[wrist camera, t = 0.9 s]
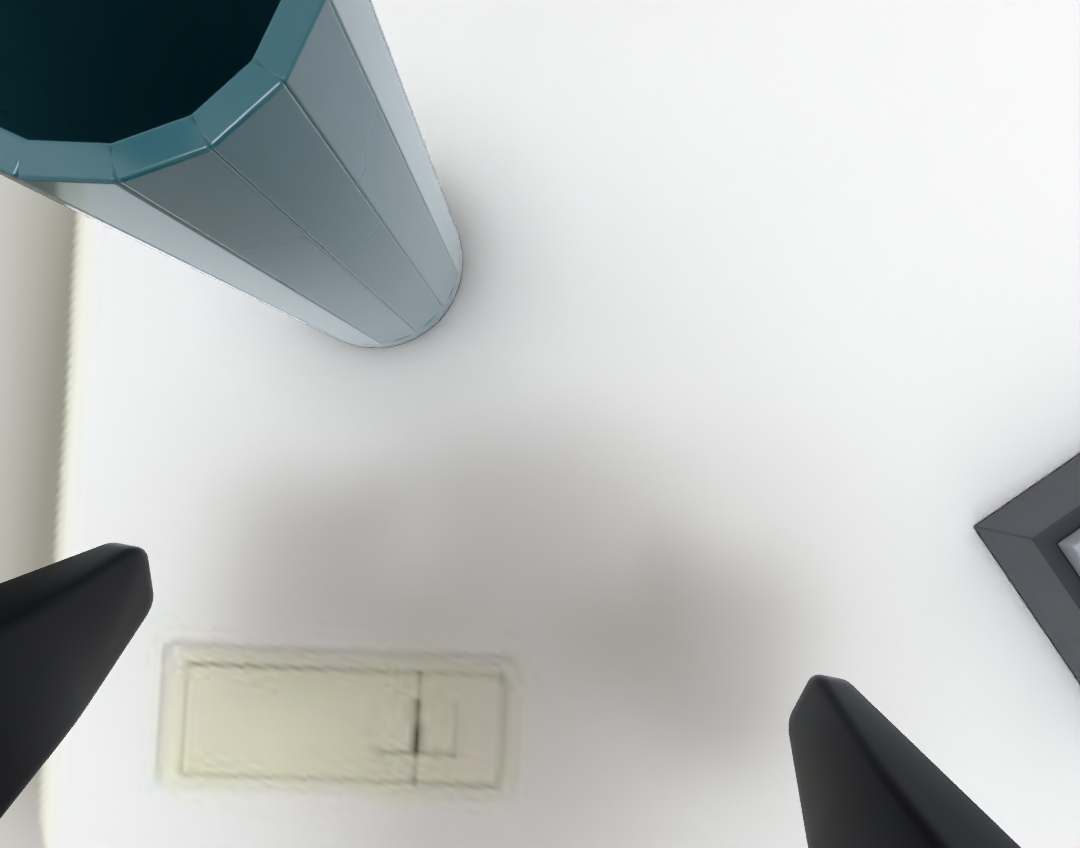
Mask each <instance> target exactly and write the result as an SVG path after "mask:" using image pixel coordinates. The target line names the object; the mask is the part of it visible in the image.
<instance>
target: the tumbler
mask: <svg viewBox="0 0 1080 848" xmlns="http://www.w3.org/2000/svg"><path fill="white" fill-rule="evenodd" d="M0 174H1V175H3V176H5V177H7V178H9V179H11V180H13V181H15V182H17V183H19V184H21V185H23V186H25V187H28V188H29V189H31V190H34V191H36V192H38V193H40V194H42V195H44V196H46V197H48V198H50V199H52V200H54V201H56V202H58V203H60V204H62V205H64V206H66V207H68V208H70V209H72V210H74V211H76V212H78V213H80V214H82V215H84V216H87V217H89V218H91V219H93V220H95V221H97V222H99V223H101V224H103V225H105V226H107V227H109V228H111V229H113V230H115V231H117V232H119V233H121V234H123V235H125V236H127V237H129V238H131V239H133V240H135V241H138V242H140V243H142V244H144V245H146V246H148V247H150V248H152V249H154V250H156V251H158V252H160V253H162V254H164V255H166V256H168V257H170V258H172V259H174V260H176V261H178V262H180V263H182V264H184V265H186V266H189V267H191V268H193V269H195V270H197V271H199V272H201V273H203V274H205V275H207V276H209V277H211V278H213V279H215V280H217V281H219V282H221V283H223V284H225V285H227V286H229V287H231V288H233V289H235V290H237V291H240V292H242V293H244V294H246V295H248V296H250V297H252V298H254V299H256V300H258V301H260V302H262V303H264V304H266V305H268V306H270V307H272V308H274V309H276V310H278V311H280V312H282V313H284V314H286V315H288V316H291V317H293V318H295V319H297V320H299V321H301V322H303V323H305V324H307V325H309V326H311V327H313V328H315V329H317V330H319V331H321V332H324V333H326V334H328V335H330V336H332V337H334V338H336V339H338V340H341V341H343V342H345V343H349V344H352V345H356V346H361V347H370V348H379V347H389V346H395V345H398V344H402V343H405V342H408V341H410V340H412V339H414V338H417V337H418V336H420V335H421V334H423V333H425V332H426V331H427V330H429V329H430V328H431V327H432V326H434V325H435V324H436V323H437V322H438V321H439V320H440V319H441V318H442V316H443V315H444V314H445V312H446V311H447V310H448V308H449V307H450V305H451V303H452V301H453V299H454V298H455V295H456V293H457V290H458V287H459V283H460V279H461V274H462V249H461V243H460V238H459V235H458V233H457V230H456V227H455V224H454V222H453V219H452V216H451V214H450V211H449V208H448V206H447V203H446V200H445V197H444V195H443V192H442V189H441V187H440V184H439V181H438V179H437V176H436V173H435V171H434V168H433V165H432V163H431V160H430V157H429V154H428V152H427V149H426V146H425V144H424V141H423V138H422V136H421V133H420V130H419V128H418V125H417V122H416V119H415V117H414V114H413V111H412V109H411V106H410V103H409V101H408V98H407V95H406V93H405V90H404V87H403V85H402V82H401V79H400V76H399V74H398V71H397V68H396V66H395V63H394V60H393V58H392V55H391V52H390V50H389V47H388V44H387V42H386V39H385V36H384V33H383V31H382V28H381V25H380V23H379V20H378V17H377V15H376V12H375V9H374V7H373V4H372V1H371V0H0Z"/></svg>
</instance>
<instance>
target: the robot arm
mask: <svg viewBox="0 0 1080 848" xmlns="http://www.w3.org/2000/svg"><path fill="white" fill-rule="evenodd" d="M152 602H153V588H152V581H151V575H150V568H149V562H148V556H147V554H146V552H145V551H144V550H143V549H141V548H140V547H135V546H130V545H125V544H119V543H108V544H104V545H101V546H99V547H96V548H94V549H91V550H88V551H86V552H83V553H80V554H78V555H75V556H72V557H70V558H67V559H64V560H62V561H59V562H56V563H54V564H51V565H48V566H46V567H43V568H40V569H38V570H35V571H33V572H30V573H27V574H24V575H22V576H19V577H16V578H14V579H11V580H8V581H6V582H3V583H0V818H1V817H2V816H3V814H4V813H5V812H6V810H7V809H8V808H9V807H10V806H11V804H12V803H13V802H14V800H15V799H16V798H17V797H18V795H19V794H20V793H21V792H22V790H23V789H24V788H25V786H26V785H27V784H28V783H29V782H30V780H31V779H32V778H33V776H34V775H35V774H36V773H37V772H38V770H39V769H40V768H41V766H42V765H43V764H44V763H45V761H46V760H47V759H48V758H49V756H50V755H51V754H52V753H53V751H54V750H55V749H56V748H57V746H58V745H59V744H60V742H61V741H62V740H63V739H64V737H65V736H66V735H67V733H68V732H69V731H70V729H71V728H72V727H73V725H74V724H75V723H76V721H77V720H78V718H79V717H80V716H81V714H82V713H83V711H84V710H85V708H86V707H87V706H88V704H89V703H90V701H91V700H92V698H93V696H94V695H95V693H96V692H97V690H98V689H99V687H100V686H101V684H102V683H103V681H104V680H105V678H106V677H107V675H108V674H109V672H110V671H111V669H112V668H113V666H114V664H115V663H116V661H117V660H118V658H119V657H120V655H121V654H122V652H123V651H124V649H125V648H126V646H127V645H128V643H129V642H130V640H131V639H132V637H133V636H134V634H135V632H136V631H137V629H138V628H139V626H140V625H141V623H142V622H143V620H144V619H145V617H146V616H147V614H148V612H149V610H150V608H151V605H152ZM789 736H790V742H791V748H792V754H793V760H794V766H795V772H796V778H797V784H798V790H799V796H800V802H801V808H802V814H803V820H804V826H805V832H806V838H807V843H808V848H1021V847H1020V846H1019V845H1018V844H1017V843H1015V842H1014V841H1013V840H1012V839H1011V838H1010V837H1009V836H1008V835H1007V834H1006V833H1005V832H1004V831H1003V830H1002V829H1001V828H1000V827H999V826H998V825H997V824H996V823H995V822H994V821H993V820H992V819H991V818H990V817H989V816H987V815H986V814H985V813H984V812H983V811H982V810H981V809H980V808H979V807H978V806H977V805H976V804H975V803H974V802H973V801H972V800H971V799H970V798H969V797H968V796H967V795H966V794H965V793H964V792H963V791H962V790H961V789H959V788H958V787H957V786H956V785H955V784H954V783H953V782H952V781H951V780H950V779H949V778H948V777H947V776H946V775H945V774H944V773H943V772H942V771H941V770H940V769H939V768H938V767H937V766H936V765H935V764H934V763H932V762H931V761H930V760H929V759H928V758H927V757H926V756H925V755H924V754H923V753H922V752H921V751H920V750H919V749H918V748H917V747H916V746H915V745H914V744H913V743H912V742H911V741H910V740H909V739H908V738H907V737H906V736H904V735H903V734H902V733H901V732H900V731H899V730H898V729H897V728H896V727H895V726H894V725H893V724H892V723H891V722H890V721H889V720H888V719H887V718H886V717H885V716H884V715H883V714H882V713H881V712H880V711H879V710H877V709H876V708H875V707H874V706H873V705H872V704H871V703H870V702H869V701H868V700H867V699H866V698H865V697H864V696H863V695H862V694H861V693H860V692H859V691H858V690H857V689H856V688H855V687H854V686H853V685H851V684H850V683H849V682H847V681H846V680H843V679H840V678H834V677H829V676H824V675H815V676H813V677H811V678H810V679H809V681H808V683H807V685H806V686H805V688H804V690H803V692H802V694H801V696H800V698H799V699H798V701H797V703H796V705H795V707H794V709H793V711H792V713H791V715H790V719H789Z"/></svg>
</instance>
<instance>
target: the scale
mask: <svg viewBox="0 0 1080 848" xmlns="http://www.w3.org/2000/svg"><path fill="white" fill-rule="evenodd" d="M975 529H976V530H977V531H978V533H979V534H980V536H981V537H982V539H983V540H984V542H985V543H986V545H987V546H988V548H989V549H990V551H991V552H992V554H993V555H994V557H995V558H996V560H997V561H998V562H999V564H1000V565H1001V567H1002V568H1003V570H1004V571H1005V573H1006V574H1007V576H1008V577H1009V579H1010V580H1011V582H1012V583H1013V585H1014V586H1015V588H1016V589H1017V591H1018V592H1019V593H1020V595H1021V596H1022V598H1023V599H1024V601H1025V602H1026V604H1027V605H1028V607H1029V608H1030V610H1031V611H1032V613H1033V614H1034V616H1035V617H1036V619H1037V620H1038V622H1039V623H1040V624H1041V626H1042V627H1043V629H1044V630H1045V632H1046V633H1047V635H1048V636H1049V638H1050V639H1051V641H1052V642H1053V644H1054V645H1055V647H1056V648H1057V650H1058V651H1059V653H1060V654H1061V655H1062V657H1063V658H1064V660H1065V661H1066V663H1067V664H1068V666H1069V667H1070V669H1071V670H1072V672H1073V673H1074V675H1075V676H1076V678H1077V679H1078V681H1079V682H1080V454H1079V455H1078V456H1076V457H1075V458H1074V459H1072V460H1071V461H1069V462H1068V463H1066V464H1065V465H1063V466H1062V467H1060V468H1059V469H1058V470H1056V471H1055V472H1053V473H1052V474H1050V475H1049V476H1047V477H1046V478H1044V479H1043V480H1042V481H1040V482H1039V483H1037V484H1036V485H1034V486H1033V487H1031V488H1030V489H1028V490H1027V491H1026V492H1024V493H1023V494H1021V495H1020V496H1018V497H1017V498H1015V499H1014V500H1012V501H1011V502H1010V503H1008V504H1007V505H1005V506H1004V507H1002V508H1001V509H999V510H998V511H996V512H995V513H994V514H992V515H991V516H989V517H988V518H986V519H985V520H983V521H982V522H980V523H979V524H978V525H976V526H975Z"/></svg>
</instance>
